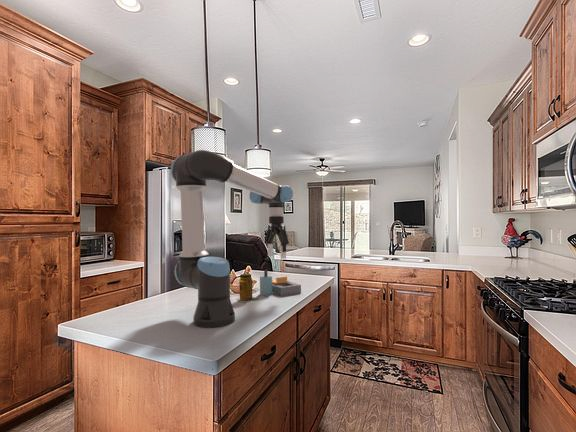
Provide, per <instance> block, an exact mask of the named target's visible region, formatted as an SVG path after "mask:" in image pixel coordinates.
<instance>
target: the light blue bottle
mask: <svg viewBox="0 0 576 432" xmlns="http://www.w3.org/2000/svg"><path fill="white" fill-rule="evenodd" d="M263 272H264V273H263V275H260V276H259V294H260V295H262V296H271V295H273V293H272V280H273V276H270V275H269V274H268V269H266V270H264V271H263Z"/></svg>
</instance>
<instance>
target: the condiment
mask: <svg viewBox="0 0 576 432" xmlns="http://www.w3.org/2000/svg"><path fill="white" fill-rule="evenodd" d="M236 300H237V301H240V302H243V303H247V302H252V301H255V300H256V301H257V300H259V298H257V297H255V296H253V280H252V274H251V273H240V276H239V298H236Z"/></svg>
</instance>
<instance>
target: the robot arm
mask: <svg viewBox="0 0 576 432" xmlns="http://www.w3.org/2000/svg"><path fill="white" fill-rule="evenodd" d="M170 174H171V177H172V179H173V180H174V181H175V186H176V189H177V190H179V192H180V211H181V213H180V215H181V216H180V217H181V236H182V237H181V239H182V240H181V244H182V251H181V253H180V254H179V255H178V261H177V263H176V264H175V267H174V270H173V271H174V277H175V279H176V281H177V282H178V283H179V284H180V285H182V286H184V287H186V288H190V289H195V290H197V304H196V307H195V311H194V313H193V320H192V321H193V322H192V323H193V324H194V326H196V327H199V328H200V327H201V328H217V327H224V326H227V325H230V324H233V323H234V322H235V319H236V314H235V310H234V307H233V305H232V301H231V268H230V262H229V260H227V259H226V258H224V257H220V256H210V255H209V252H208V251H206V248H205V226H204V225H205V223H204V200H203V199H204V195H203V192H204V190H206V188H207V181H216V182H220V183H222V184H223V183H228V184H231V185H234V186H236V187H239V188H242V189H243V190H244V189H245V190H246V191H249V200H250V203H252V204H257V205H260V204H261V205H268V216H269V217H268V223H269V224H270V225H269V224H268V226H267V232H266V237H265V243H266V244H267V257H273V256H274V238H275V237H276V236H277V237H278V240H279V242H280V259H281V260H282V259H285V260H286V259H287V245H289V243H290V241H289V238H288V234H287V230H286V225H284V223H285V222H284V219H285V218H284V212H285V211H284V204H285V203H288V202H290V201H292V199H293V195H294V191H293V188H292V187H291V186H289V185H285V184H284V185H280V184H278V183H276V182H273V181H271V180H269V179H266V178H264V177H262V176H260V175H258V174H256V173H254V172H251V171H249V170H247V169H245V168H242V167H241V166H239V165H236V164H235V163H234V161H233V160H231V159H230V158H227V157H225V156H223V155H221V154H218V153H215V152H214V151H209V150H204V149H199V150H194V151H192V152H189V153H184V154H182V155H179V156H177V157H176V158H175V159H174V160H173V161H172V164H171V165H170ZM282 224H283V225H282Z"/></svg>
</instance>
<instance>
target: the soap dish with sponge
mask: <svg viewBox="0 0 576 432" xmlns="http://www.w3.org/2000/svg"><path fill="white" fill-rule="evenodd" d="M301 293H302V284H298V283H295V282H293V281H292V282H291V281H289V282H287V283H280V284H274V283H272V294H274V295H277V296H280V297H283V296H291V295H295V294H301Z"/></svg>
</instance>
